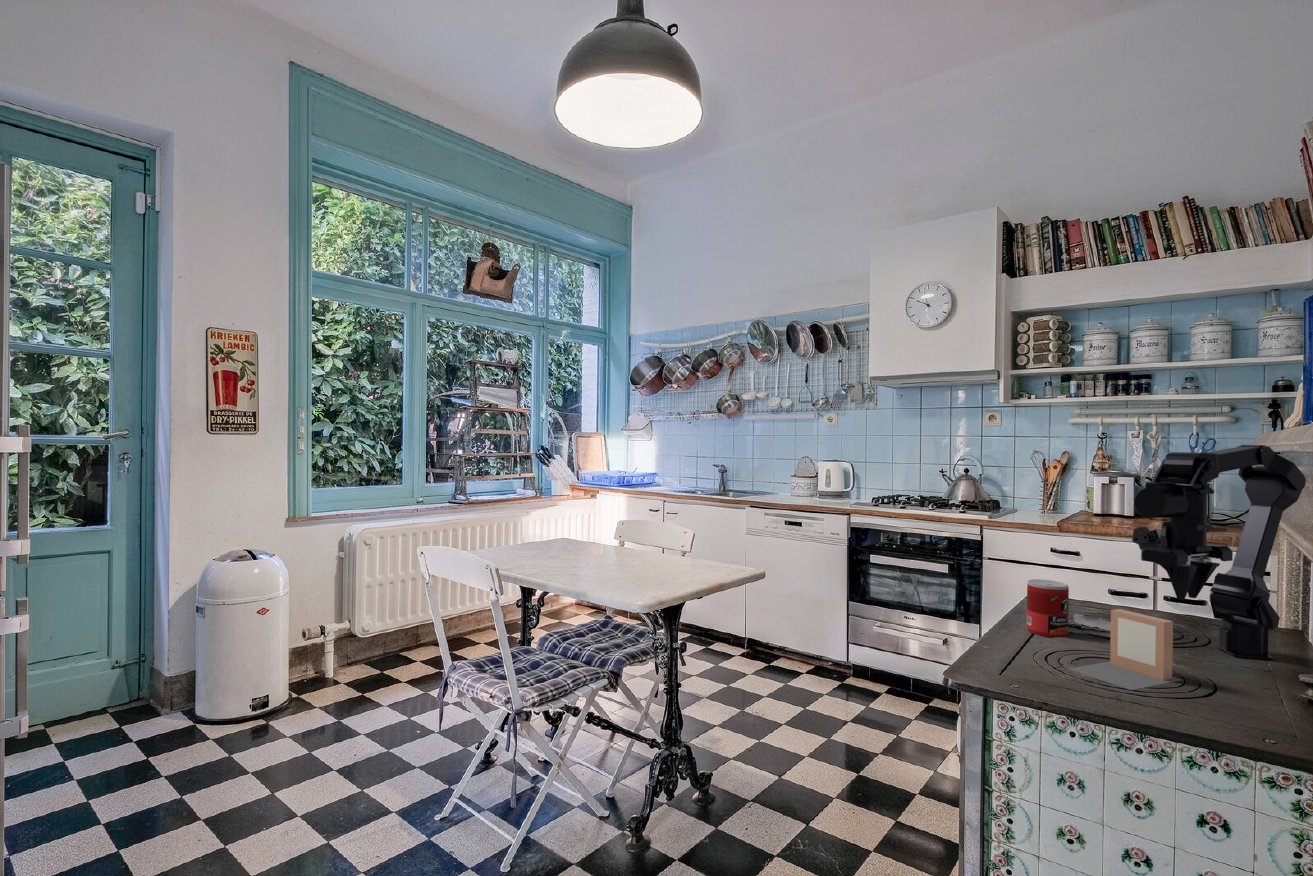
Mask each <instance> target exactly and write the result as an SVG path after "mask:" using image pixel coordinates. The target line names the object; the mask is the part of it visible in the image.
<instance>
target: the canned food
mask: <svg viewBox="0 0 1313 876" xmlns="http://www.w3.org/2000/svg"><path fill="white" fill-rule="evenodd" d="M1026 585H1027V587H1026V628H1027V631H1028V632H1029V633H1030V634H1033V633H1034V635H1036V636H1040V637H1044V636H1046V637H1045V638H1050V637H1052V638H1051V639H1054V638H1061V637H1067V635H1068V634H1069V632H1068V622H1069V603H1070V601H1069V600H1070V599H1069V597H1070V596H1069V595H1070V588H1069V585H1068V584H1067V583H1066V582H1065V583H1064V582H1061V581H1056V580H1051V579H1042V578H1041V579H1040V578H1039V579H1038V578H1037V579H1034V578H1033V579H1028V580H1027V583H1026Z"/></svg>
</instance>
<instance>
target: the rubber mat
mask: <svg viewBox="0 0 1313 876" xmlns="http://www.w3.org/2000/svg"><path fill="white" fill-rule="evenodd" d="M1067 670H1069V671H1073V672H1075V673H1079V674H1080V675H1081V674H1082V675H1085V676H1087V677H1091V678H1093V679H1097V680H1098V681H1099V680H1100V681H1101V682H1105V683H1108V684H1111V685H1114V686H1117V687H1121V688H1122V689H1126V690H1129V691H1135V690H1140V689H1143V688H1144V689H1145V688H1149V687H1150V688H1151V687H1155V686H1159V685H1165V684H1170V683H1174V682H1181V681H1183V679H1181V678H1178V677H1175V676H1172V679H1168V680H1160V679H1157V678H1154V677H1151V676H1147V675H1144V674H1141V673H1138V672H1135V671H1131V670H1128V669H1125V668H1122V667H1118V666H1115V665H1112V664H1110V660H1109V661H1105V662H1098V663H1093V664H1087V665H1081V666H1075V667H1068V668H1067Z"/></svg>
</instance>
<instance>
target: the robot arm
mask: <svg viewBox="0 0 1313 876" xmlns="http://www.w3.org/2000/svg"><path fill="white" fill-rule="evenodd" d="M1234 470H1238V476H1239V477H1240V478H1241V480H1242V481H1243V482H1244V483H1245V486H1244V492H1245V494H1246V496H1247V498H1248V500H1249V502H1250V505H1249V510H1248V513H1247V516H1246V520H1245V522H1244V526H1243V528H1242V531H1241V536H1240V539H1239V542H1238V546H1237V548H1236V553H1235V554H1233V553H1234V552H1233V551H1234V550H1232V549H1231V548H1230V547H1229V546H1228V545H1224V544H1223V545H1222V544H1215V543H1208V542H1207V538H1208V537H1207V535H1208V533H1207V532H1208V531H1207V530H1213V524H1212V523H1208V495H1214V494H1215V490H1214V489H1213V488H1212V487H1210V486H1209V485H1208V484H1207V483H1209V482H1211V481H1213V480H1215V479H1217V478H1219V477H1220V474H1221V473H1223V472H1229V471H1234ZM1306 482H1307V481H1306V476H1305V474H1304V473H1303V472H1302V471H1301V470H1300V468H1299V467H1298V466H1297V465H1296V464H1295V462H1293V461H1291V460H1290V459H1287V458H1285V457H1283V456H1281V455H1279V454H1278V453H1276V452H1275V451H1274V450H1273V449H1272V448H1271V447H1270V446H1268V445H1265V444H1241V445H1236V446H1235V447H1231V448H1225V449H1219V450H1213V451H1207V452H1192V451H1191V452H1189V451H1188V452H1183V451H1182V452H1180V451H1179V452H1177V451H1176V452H1175V451H1171V452H1169V453H1167V454H1166V455H1165V458H1164V459H1163V460H1162V462H1161V463H1160V465H1159V467H1158V469H1157V470H1156V472H1155V474H1154V476H1153V478H1152V480H1151V481H1146V482H1145V488H1143V489H1140V491H1139V492H1138V493H1137V494H1136V496H1135V498H1134V507H1135V509H1136V510H1137V513H1139V514H1140V515H1141V516H1142V517H1144V518H1148V519H1165V518H1166V519H1168V520H1164V521H1163V522H1162V523H1161V528H1159V529H1153V530H1150V529H1149V528H1148V527H1147V526H1142V527H1141V526H1140V527H1136V528H1135V527H1134V528H1133V531H1132V532H1133V533H1132V539H1131V541H1132V542H1133V543H1135V544H1136V545H1138V547H1139V550H1140V560H1141V561H1143V562H1148V563H1149V562H1150V563H1154V564H1156V565H1158V566H1160V567H1161V568H1163V569H1164V570H1165V572H1166V573H1167V575H1168V579H1169V580H1170V583H1171V585H1172V589H1173V591H1174V594H1175V596H1176V598H1177V599H1178V600H1182V601H1183V600H1185V599H1186V597H1188V598H1191V599H1197V598H1198V596H1199V594H1200V592H1202V589H1203V588H1204V586H1205V584H1206V583H1207V581H1208V580H1209V579H1210V578H1211V576H1212V574H1213V573H1214V572H1215V570H1216V569H1217V568H1218V567H1220V565H1221V563H1218V562H1212V559H1217V560H1220V561H1221V562H1232V566H1231V568H1230V570H1228V571H1226V572H1224V573H1220V572H1218V573H1216V575H1215V576H1214V580H1213V584H1212V587H1211V588H1210V589H1209V592H1210V593H1209V603H1210V606H1211V611H1212V614H1213V618H1214V619H1217V620H1222V621H1221V622H1222V623H1221V625H1222V626H1220V627H1219V637H1218V638H1219V643H1218V645H1216V646H1217V648H1218V649H1219V650H1221V651H1223V652H1225V653H1227V654H1229V655H1232V656H1233V657H1237V658H1247V659H1248V658H1249V659H1261V660H1269V659H1274V658H1275V657H1274V656H1271V655H1269V633H1270V632H1269V630H1272V631H1275V630H1276V629H1277V628H1278V627H1279V623H1280V619H1281V617H1280V616H1279V614H1278V613H1277V612H1276V610H1275V609H1274V607H1273V606H1272V605H1271V603H1270V597H1271V593H1270V590H1269V588H1268V586H1267V584H1266V582H1265V580H1264V578H1265V574H1266V570H1267V567H1268V564H1269V563H1268V562H1269V560H1270V556H1271V552H1272V550H1273V546H1274V544H1275V539H1276V536H1277V532H1278V530H1279V526H1280V522H1281V519H1282V516H1283V514H1284V513H1283V512H1285V510H1288V508H1289V507H1291V506H1292V505H1294V504H1295V503H1296V502H1298V500H1299V498H1300V497H1301V494H1302V492H1303V489H1305V486H1306ZM1233 555H1234V557H1233ZM1187 595H1188V596H1187Z"/></svg>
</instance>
